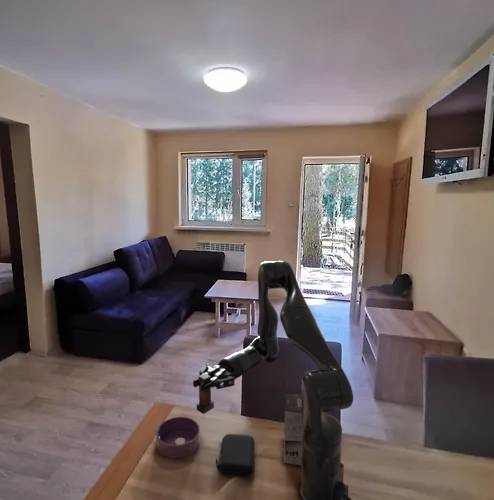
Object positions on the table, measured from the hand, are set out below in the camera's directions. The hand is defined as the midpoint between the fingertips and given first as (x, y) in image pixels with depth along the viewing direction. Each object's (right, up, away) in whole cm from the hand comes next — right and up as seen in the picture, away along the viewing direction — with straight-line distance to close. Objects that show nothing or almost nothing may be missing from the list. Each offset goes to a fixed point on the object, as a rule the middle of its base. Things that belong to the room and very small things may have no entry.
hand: (197, 386), depth 102 cm
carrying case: (+11, -19, -5) cm, 23 cm away
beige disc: (-5, -17, 0) cm, 18 cm away
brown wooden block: (+2, -9, +3) cm, 9 cm away
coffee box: (+29, -18, -3) cm, 34 cm away
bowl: (-6, -18, +1) cm, 19 cm away
